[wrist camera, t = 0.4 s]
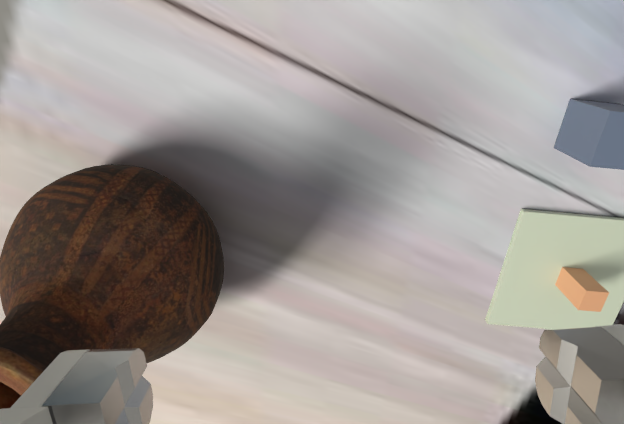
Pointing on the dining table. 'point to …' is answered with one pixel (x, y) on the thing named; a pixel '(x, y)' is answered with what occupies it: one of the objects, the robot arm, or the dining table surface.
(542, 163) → the dining table surface
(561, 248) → the post board
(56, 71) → the dining table surface
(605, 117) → the blue-grey block
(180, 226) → the jug
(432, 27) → the dining table surface
